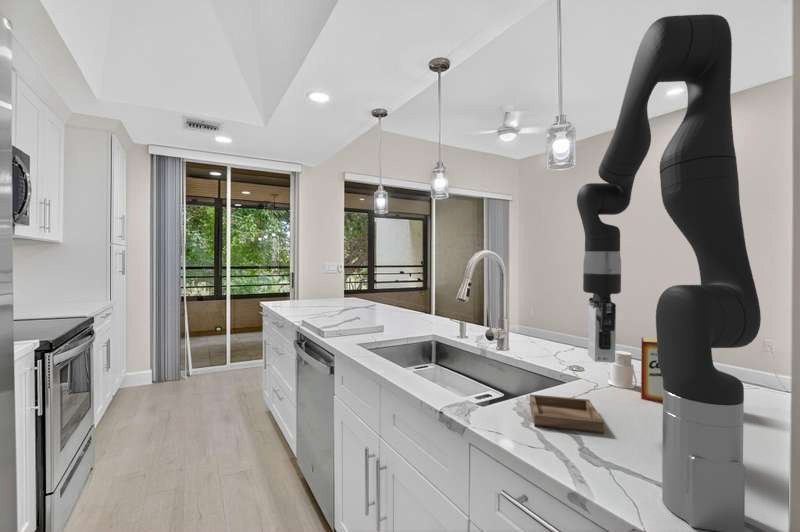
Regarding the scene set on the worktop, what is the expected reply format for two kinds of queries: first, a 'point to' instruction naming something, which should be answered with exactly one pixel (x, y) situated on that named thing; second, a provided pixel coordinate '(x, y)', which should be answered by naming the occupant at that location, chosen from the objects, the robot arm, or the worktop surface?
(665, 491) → the robot arm
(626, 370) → the downlight
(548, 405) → the tray
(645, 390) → the baking soda box
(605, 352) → the skincare box
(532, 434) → the worktop surface
